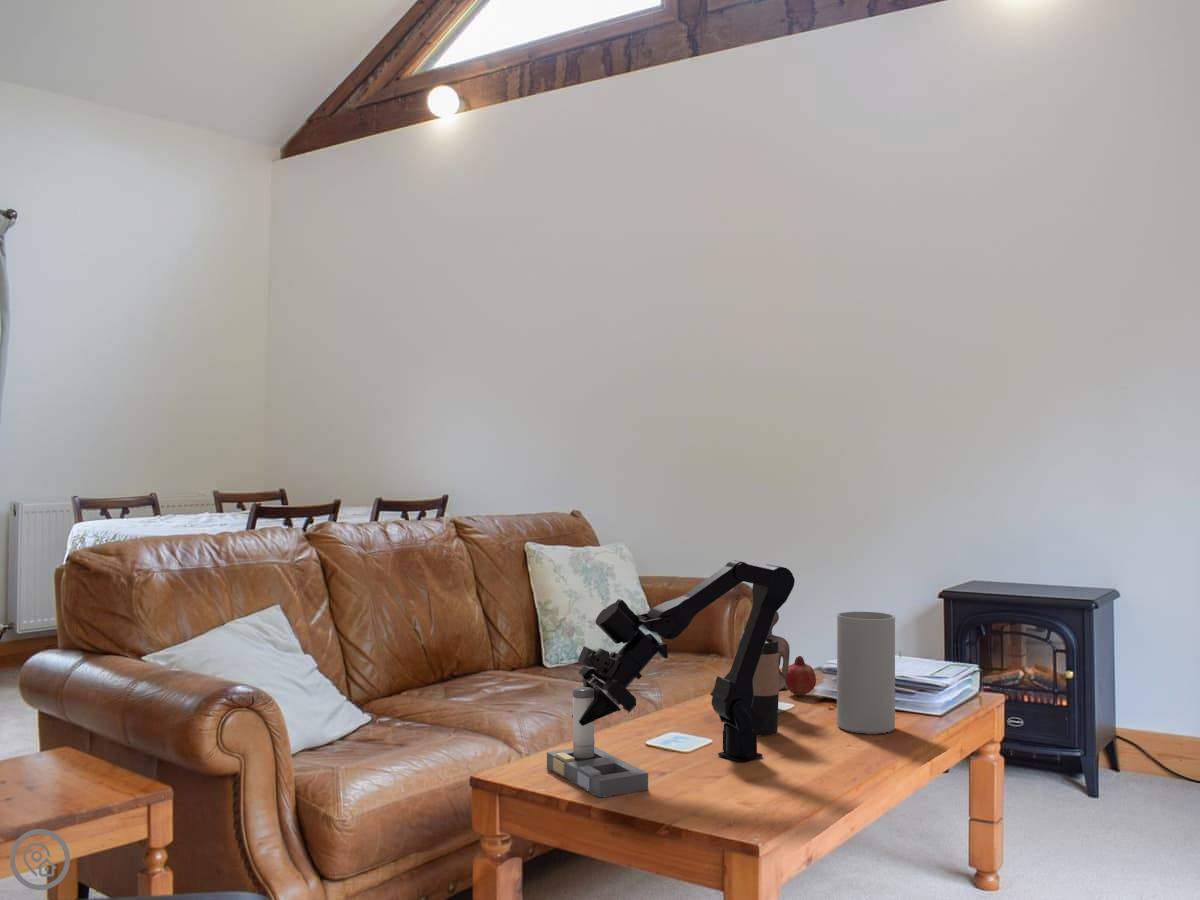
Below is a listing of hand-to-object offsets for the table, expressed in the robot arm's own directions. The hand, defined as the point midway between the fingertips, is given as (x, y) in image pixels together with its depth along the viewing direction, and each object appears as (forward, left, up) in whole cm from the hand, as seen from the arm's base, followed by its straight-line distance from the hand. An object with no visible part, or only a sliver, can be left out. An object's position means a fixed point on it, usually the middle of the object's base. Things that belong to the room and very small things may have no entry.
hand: (577, 721), depth 203 cm
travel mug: (-1, -50, -10) cm, 51 cm away
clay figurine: (+13, -66, -10) cm, 68 cm away
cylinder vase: (-13, -71, -10) cm, 73 cm away
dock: (-5, 0, -10) cm, 11 cm away
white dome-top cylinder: (0, -1, -7) cm, 7 cm away
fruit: (+18, -85, -10) cm, 88 cm away
